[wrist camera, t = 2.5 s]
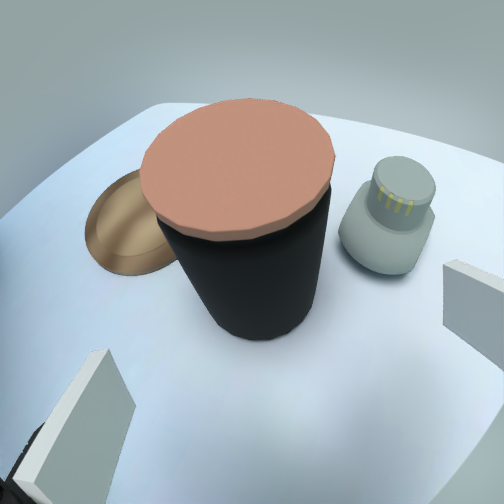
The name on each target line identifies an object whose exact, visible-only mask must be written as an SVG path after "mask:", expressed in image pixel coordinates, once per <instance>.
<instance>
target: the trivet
mask: <svg viewBox="0 0 504 504" xmlns="http://www.w3.org/2000/svg"><path fill="white" fill-rule="evenodd" d="M139 171H140V169H138V170H136V171H133V172H131V173H129V174H127V175H125V176H123V177H121V178H120V179H118V180H117V181H115V182H114V183H113V184H112V185H110V186H109V187H108V188H107V189H106V190H105V191H104V192H103V193H102V194H101V195H100V197H99V198H98V199H97V201H96V202H95V204H94V205H93V207H92V209H91V211H90V213H89V215H88V218H87V221H86V226H85V241H86V246H87V248H88V250H89V252H90V254H91V255H92V257H93V258H94V259H95V260H96V261H97V262H98V263H99V264H100V265H101V266H102V267H103V268H105V269H106V270H108V271H110V272H112V273H115V274H119V275H125V276H136V275H143V274H147V273H151V272H154V271H157V270H159V269H161V268H163V267H165V266H167V265H169V264H171V263H172V262H174V261H175V260H177V257H176V256H175V254H174V252H173V250H172V248H171V247H170V245H169V243H168V241H167V240H166V238H165V236H164V234H163V232H162V231H161V229H160V227H159V225H158V223H157V217H156V214H155V212H154V211H153V209H152V208H151V206H150V205H149V203H148V202H147V200H146V199H145V198H144V196H143V195H142V191H141V183H140V174H139Z"/></svg>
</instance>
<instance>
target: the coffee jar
mask: <svg viewBox="0 0 504 504" xmlns="http://www.w3.org/2000/svg"><path fill="white" fill-rule="evenodd" d="M334 161H335V153H334V150H333V146H332V142H331V139H330V136H329V134H328V133H327V132H326V130H325V129H324V128H323V127H322V126H321V125H320V123H319V122H318V121H317V120H316V119H315V118H313V117H312V116H310V115H308V114H307V113H305V112H303V111H302V110H300V109H298V108H296V107H294V106H291V105H287V104H284V103H281V102H277V101H273V100H263V99H251V98H248V99H237V100H228V101H222V102H218V103H214V104H211V105H208V106H204V107H201V108H198V109H196V110H194V111H192V112H190V113H188V114H186V115H184V116H182V117H180V118H178V119H177V120H176V121H174V122H173V123H172V124H170V125H169V126H168V127H167V128H166V129H164V130H163V131H162V132H161V133H159V134H158V136H157V137H156V138H155V140H154V141H153V142H152V144H151V145H150V146H149V148H148V149H147V151H146V152H145V155H144V158H143V161H142V165H141V168H140V171H139V174H140V183H141V191H142V195H143V196H144V198H145V199H146V200H147V202H148V203H149V205H150V206H151V208H152V209H153V211H154V212H155V214H156V217H157V223H158V225H159V227H160V229H161V231H162V232H163V234H164V236H165V238H166V240H167V241H168V243H169V245H170V247H171V248H172V250H173V252H174V254H175V256H176V257H177V259H178V261H179V262H180V264H181V266H182V268H183V269H184V271H185V273H186V275H187V276H188V278H189V280H190V281H191V283H192V285H193V286H194V288H195V290H196V291H197V293H198V295H199V296H200V298H201V300H202V301H203V303H204V305H205V306H206V308H207V310H208V311H209V313H210V314H211V315H212V317H213V318H214V320H215V321H216V322H217V324H218V325H219V326H221V327H222V328H224V329H225V330H226V331H228V332H229V333H231V334H232V335H235V336H238V337H242V338H246V339H249V340H263V339H272V338H274V337H277V336H280V335H283V334H285V333H288V332H289V331H290V330H292V329H293V328H294V327H296V326H297V325H298V324H299V323H301V322H302V321H303V319H304V318H305V316H306V315H307V313H308V312H309V310H310V309H311V307H312V303H313V299H314V295H315V291H316V286H317V280H318V274H319V269H320V263H321V257H322V251H323V245H324V238H325V232H326V226H327V219H328V212H329V205H330V198H331V185H330V180H331V176H332V171H333V166H334Z"/></svg>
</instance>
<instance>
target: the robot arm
mask: <svg viewBox="0 0 504 504" xmlns="http://www.w3.org/2000/svg"><path fill="white" fill-rule="evenodd" d="M443 325H444V326H445V327H446V328H448V329H449V330H450V331H452V332H453V333H455V334H456V335H457V336H459V337H460V338H461V339H463V340H464V341H465V342H467V343H468V344H469V345H471V346H472V347H473V348H474V349H476V350H477V351H478V352H480V353H481V354H482V355H484V356H485V357H486V358H488V359H489V360H490V361H491V362H493V363H494V364H495V365H497V366H498V367H499V368H500V369H502V370H503V371H504V279H502V278H499V277H497V276H495V275H492V274H490V273H488V272H485V271H483V270H481V269H478V268H476V267H474V266H471V265H469V264H466V263H464V262H462V261H459V260H457V259H456V260H454V261H451V262H448V263H445V264H443ZM135 407H136V405H135V403H134V401H133V399H132V397H131V395H130V393H129V391H128V389H127V387H126V385H125V383H124V381H123V379H122V377H121V375H120V372H119V370H118V368H117V366H116V364H115V362H114V359H113V357H112V355H111V353H110V350H109V349H104V350H98V351H92V352H91V354H90V355H89V357H88V358H87V359H86V361H85V362H84V364H83V365H82V367H81V368H80V370H79V371H78V373H77V374H76V376H75V377H74V379H73V380H72V382H71V383H70V385H69V386H68V388H67V389H66V391H65V392H64V394H63V395H62V397H61V398H60V400H59V402H58V403H57V405H56V406H55V408H54V409H53V411H52V413H51V414H50V416H49V417H48V419H47V420H46V422H44V423H43V424H42V425H41V426H40V427H39V428H38V429H37V430H36V431H35V432H34V433H33V435H32V436H31V438H30V439H29V441H28V445H27V444H26V446H25V448H24V449H23V453H21V454H20V456H19V458H18V459H17V461H16V463H15V464H14V466H13V468H12V470H11V471H10V473H9V475H8V477H7V478H6V480H5V482H4V481H3V480H2V479H1V478H0V504H105V503H106V500H107V496H108V493H109V489H110V486H111V483H112V479H113V476H114V473H115V469H116V466H117V463H118V460H119V456H120V453H121V450H122V447H123V444H124V441H125V437H126V434H127V431H128V428H129V425H130V422H131V419H132V416H133V413H134V410H135Z"/></svg>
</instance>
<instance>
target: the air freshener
mask: <svg viewBox="0 0 504 504" xmlns="http://www.w3.org/2000/svg"><path fill="white" fill-rule="evenodd" d="M435 191H436V186H435V182H434V180H433V178H432V176H431V174H430V173H429V172H428V170H427V169H426V168H425V167H424V166H422V165H421V164H420V163H418V162H416V161H414V160H412V159H410V158H406V157H401V156H393V157H387V158H384V159H382V160H381V161H379V162H378V163H377V165H376V166H375V168H374V172H373V176H372V180H370V181H367V182H365V183H364V184H363V185H362V186H361V187H360V189H359V190H358V192H357V193H356V195H355V196H354V198H353V200H352V202H351V203H350V205H349V207H348V209H347V211H346V213H345V215H344V217H343V219H342V221H341V224H340V227H339V230H338V233H339V237H340V239H341V241H342V243H343V245H344V247H345V249H346V250H347V251H348V253H349V254H350V255H351V256H352V257H353V258H354V259H355V260H356V261H357V262H359V263H360V264H361V265H363V266H365V267H366V268H368V269H370V270H373V271H375V272H378V273H383V274H391V275H397V274H404V273H408V272H411V270H412V269H413V267H414V265H415V263H416V262H417V260H418V258H419V256H420V254H421V251H422V249H423V247H424V245H425V243H426V240H427V238H428V235H429V233H430V230H431V228H432V225H433V222H434V218H435V215H434V213H433V211H432V209H431V207H430V203H431V201H432V199H433V197H434V195H435Z"/></svg>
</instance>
